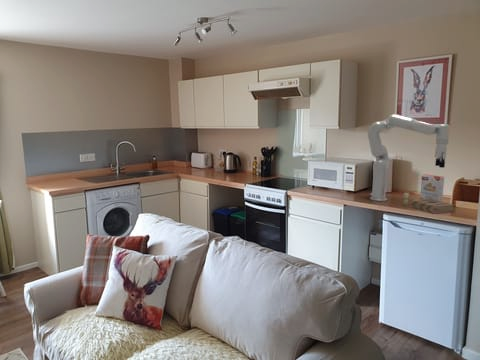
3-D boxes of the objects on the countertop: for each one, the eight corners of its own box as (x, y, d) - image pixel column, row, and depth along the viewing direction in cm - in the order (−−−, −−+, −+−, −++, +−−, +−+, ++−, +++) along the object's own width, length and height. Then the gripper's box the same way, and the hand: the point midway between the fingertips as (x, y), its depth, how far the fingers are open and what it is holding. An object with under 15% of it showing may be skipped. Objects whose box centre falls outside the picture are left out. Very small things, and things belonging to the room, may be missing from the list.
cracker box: (419, 202, 274) (421, 174, 271) (424, 201, 277) (426, 173, 274) (437, 205, 262) (439, 176, 259) (442, 204, 265) (444, 176, 262)
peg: (402, 204, 265) (402, 192, 263) (405, 204, 266) (406, 192, 264) (405, 205, 262) (406, 193, 260) (409, 205, 263) (410, 193, 261)
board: (410, 207, 258) (411, 200, 257) (428, 205, 263) (429, 198, 262) (433, 213, 239) (434, 206, 238) (452, 211, 244) (453, 204, 243)
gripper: (432, 141, 263) (430, 165, 266) (439, 142, 246) (437, 167, 249) (444, 141, 261) (442, 165, 264) (451, 142, 245) (449, 168, 247)
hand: (439, 166), depth 257 cm, fingers open, 9 cm apart
